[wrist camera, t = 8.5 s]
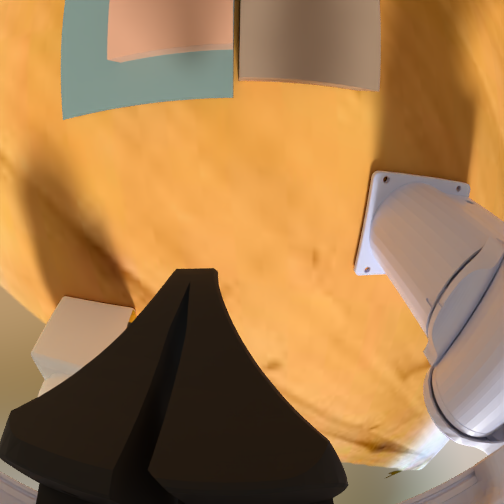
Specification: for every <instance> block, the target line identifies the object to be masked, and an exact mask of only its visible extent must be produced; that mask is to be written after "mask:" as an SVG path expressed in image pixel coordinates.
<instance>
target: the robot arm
mask: <svg viewBox="0 0 504 504" xmlns="http://www.w3.org/2000/svg"><path fill="white" fill-rule="evenodd" d="M385 176H387V180H386V181H385V182H383V179H384V177H385ZM457 187H458V188H457ZM456 188H457V190H456ZM469 193H470V186H469V184H467V183H465V182H459V181H453V180H447V179H441V178H435V177H428V176H421V175H413V174H405V173H397V172H388V171H375V172H374V173H373V174H372V177H371V183H370V189H369V195H368V201H367V207H366V213H365V218H364V223H363V228H362V233H361V238H360V243H359V248H358V252H357V257H356V261H355V266H354V271H355V273H356V274H357V275H376V274H386V275H387V276H388V278H389V279H390V280H391V282H392V283H393V285H394V286H395V288H396V289H397V291H398V292H399V294H400V295H401V297H402V298H403V300H404V301H405V303H406V304H407V306H408V307H409V309H410V310H411V312H412V314H413V315H414V317H415V318H416V320H417V321H418V323H419V325H420V326H421V328H422V329H423V331H424V333H425V334H426V336H427V338H428V344H427V346H426V348H425V349H424V351H423V352H424V354H425V356H426V357H427V359H428V361H429V363H430V365H431V367H430V368H429V370H428V372H427V373H426V376H425V379H424V385H423V394H424V400H425V404H426V407H427V410H428V412H429V414H430V417H431V419H432V420H433V422H434V423H435V425H436V426H437V427H438V428H439V430H440V431H441V432H442V433H443V434H444V435H446V436H447V437H448V438H449V439H451V440H453V441H454V442H457V443H459V444H461V445H466V446H472V447H475V448H478V449H480V450H482V451H484V452H485V453H486V454H488V456H487V457H486V458H484V459H483V460H481V461H480V462H478V463H477V464H475V465H474V466H473V467H471V468H469V469H468V470H466V471H464V472H463V473H461V474H459V475H457V476H455V477H454V478H452V479H450V480H448V481H447V482H445V483H443V484H441V485H439V486H437V487H435V488H433V489H430V490H428V491H426V492H424V493H422V494H419V495H417V496H415V497H412V498H410V499H408V500H405V501H402V502H400V503H397V504H504V222H503V221H502V220H500V219H499V218H498V217H496V216H495V215H493V214H492V213H491V212H489V211H488V210H486V209H485V208H483V207H482V206H481V205H479V204H478V203H476V202H475V201H473V200H472V199H470V198H469ZM366 267H368V269H366V270H365V268H366ZM0 458H1V459H2V460H3V461H4V462H6V463H7V464H9V465H10V466H12V467H13V468H15V469H16V470H18V471H20V472H21V473H23V474H25V475H26V476H28V477H30V478H31V479H33V480H35V481H37V482H39V483H40V484H39V489H38V491H36V490H33V489H32V488H30V487H28V486H26V485H24V484H22V483H20V482H18V481H16V480H14V479H13V478H11V477H9V476H7V475H5V474H4V473H2V472H0V504H334V503H333V497H335V496H337V495H338V494H340V493H341V492H343V491H344V490H345V489H346V488H347V486H348V482H347V477H346V474H345V471H344V468H343V466H342V463H341V461H340V459H339V457H338V455H337V453H336V452H335V450H334V448H333V446H332V445H331V443H330V441H329V440H328V439H327V438H326V437H324V436H323V435H322V434H321V433H320V432H319V431H317V430H316V429H315V428H314V427H313V426H312V425H311V424H310V423H309V422H308V421H306V420H305V419H304V418H303V417H302V416H301V415H300V414H299V413H298V412H297V411H296V410H295V409H294V408H293V407H292V406H291V405H290V404H289V402H288V401H287V400H286V399H285V398H284V397H283V396H282V395H281V394H280V392H279V391H278V390H277V389H276V388H275V386H274V385H273V384H272V383H271V382H270V380H269V379H268V378H267V377H266V375H265V374H264V373H263V372H262V370H261V369H260V367H259V366H258V365H257V363H256V362H255V360H254V359H253V357H252V356H251V354H250V353H249V351H248V350H247V348H246V346H245V345H244V343H243V341H242V340H241V338H240V336H239V334H238V332H237V330H236V328H235V326H234V325H233V323H232V320H231V318H230V316H229V314H228V311H227V309H226V306H225V304H224V301H223V298H222V295H221V292H220V288H219V284H218V271H216V270H215V269H214V268H209V269H176V270H175V271H174V272H173V273H172V275H171V276H170V277H169V279H168V280H167V281H166V282H165V284H164V285H163V286H162V288H161V289H160V290H159V291H158V293H157V294H156V295H155V296H154V297H153V299H152V300H151V301H150V302H149V303H148V305H147V306H146V307H145V308H144V310H143V311H142V312H141V313H140V314H139V315H138V316H137V317H136V318H135V320H134V321H133V322H132V323H131V324H130V325H129V326H128V327H127V328H126V329H125V330H124V331H123V332H122V333H121V334H120V335H119V336H118V337H117V338H116V339H115V340H114V341H113V342H112V343H111V344H110V345H109V346H108V347H107V348H106V349H105V350H104V351H102V352H101V353H100V354H99V355H98V356H96V357H95V358H94V359H93V360H91V361H90V362H89V363H87V364H86V365H85V366H84V367H82V368H81V369H80V370H79V371H77V372H76V373H75V374H73V375H72V376H70V377H69V378H68V379H66V380H65V381H63V382H62V383H60V384H59V385H57V386H56V387H54V388H52V389H51V390H49V391H48V392H46V393H44V394H43V395H41V396H39V397H37V398H35V399H34V400H31V401H30V402H28V403H26V404H24V405H22V406H20V407H18V408H16V409H14V410H12V411H11V413H10V415H9V418H8V420H7V423H6V426H5V429H4V432H3V435H2V438H1V441H0Z"/></svg>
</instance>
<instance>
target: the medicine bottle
mask: <svg viewBox="0 0 504 504" xmlns="http://www.w3.org/2000/svg"><path fill="white" fill-rule="evenodd" d="M135 318H136V312H135V309H134V308H131V307H124V306H118V305H112V304H106V303H100V302H95V301H89V300H84V299H78V298H73V297H68V296H64V297H63V298H62V299H61V301H60V302H59V304H58V305H57V307H56V309H55V310H54V312H53V314H52V315H51V317H50V319H49V321H48V322H47V324H46V326H45V328H44V330H43V331H42V333H41V335H40V337H39V338H38V340H37V342H36V344H35V346H34V348H33V350H32V352H31V356H32V358H33V360H34V362H35V364H36V365H37V367H38V369H39V371H40V372H41V374H42V376H43V377H44V379H45V381H44V382H43V384H42V387H41V389H40V392H39V395H38V397H39V396H41V395H43V394H44V393H46V392H48V391H49V390H51V389H52V388H54V387H56V386H57V385H59V384H60V383H62V382H63V381H65V380H66V379H68V378H69V377H70V376H72V375H73V374H75V373H76V372H77V371H79V370H80V369H81V368H82V367H84V366H85V365H86V364H87V363H89V362H90V361H91V360H93V359H94V358H95V357H96V356H98V355H99V354H100V353H101V352H102V351H104V350H105V349H106V348H107V347H108V346H109V345H110V344H111V343H112V342H113V341H114V340H115V339H116V338H117V337H118V336H119V335H120V334H121V333H122V332H123V331H124V330H125V329H126V328H127V327H128V326H129V325H130V324H131V323H132V322H133V321H134V320H135Z"/></svg>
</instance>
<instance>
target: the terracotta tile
mask: <svg viewBox="0 0 504 504" xmlns="http://www.w3.org/2000/svg"><path fill="white" fill-rule="evenodd" d="M209 50H233V0H110V2H109V15H108V37H107V60H110V61H115V62H120V63H121V62H126V61H131V60H136V59H142V58H147V57H153V56H160V55H167V54H175V53H184V52H195V51H209Z"/></svg>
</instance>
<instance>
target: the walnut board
mask: <svg viewBox="0 0 504 504" xmlns="http://www.w3.org/2000/svg"><path fill="white" fill-rule="evenodd" d="M380 65H381V23H380V0H240V14H239V81H272V82H290V83H303V84H313V85H322V86H330V87H338V88H345V89H351V90H359V91H379V89H380Z"/></svg>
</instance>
